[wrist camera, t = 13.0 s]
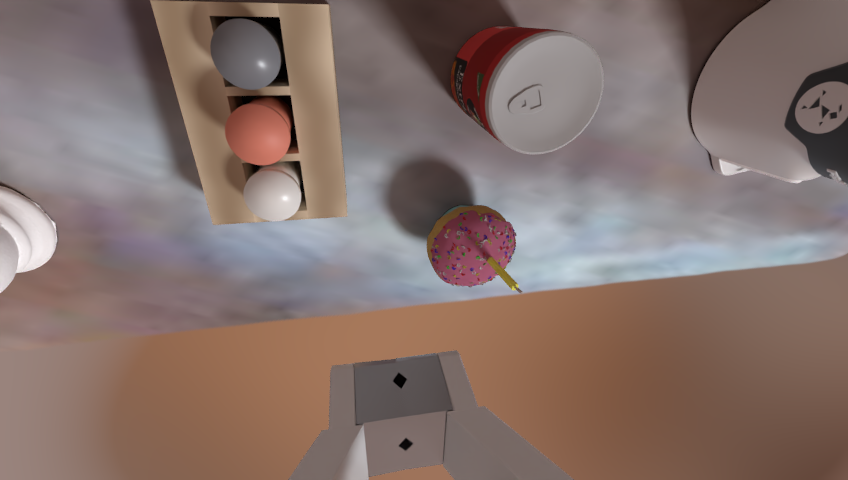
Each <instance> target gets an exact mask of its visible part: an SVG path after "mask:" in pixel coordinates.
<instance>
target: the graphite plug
mask: <svg viewBox="0 0 848 480" xmlns="http://www.w3.org/2000/svg"><path fill="white" fill-rule="evenodd" d="M210 50H211V56H212V60H213V62H214V65H215V66H216V68H217V70H218V71H219V73H220V74H221V75H222V76H223V77H224V78H225V79H226V80H227V81H229V82H230V83H232V84H233V85H235V86H237V87H240V88H243V89H248V90H255V89H261V88H263V87H265V86H267V85H269V84H270V83H271V82H272V81H273V80H274V79H275V78H276V76H277V75H278V73H279V70H280V67H281V66H282V64H283V62H284V59H285V52H284V45H283V40H282V38H281V37H280V35H279V34H278V33H277V32H276V31H275V30H274V29H273V28H272V27H270V26H269V25H267V24H264V23H260V22H255V21H252V20H248V19H231V20H228V21H225V22H224V23H222V24H221V25H220V26H218V28H217V29H216V30H215V32H214V33H213V36H212V39H211V45H210Z"/></svg>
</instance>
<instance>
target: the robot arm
mask: <svg viewBox="0 0 848 480" xmlns="http://www.w3.org/2000/svg"><path fill="white" fill-rule="evenodd" d="M691 119H692V126H693V130H694V133H695V135H696V137H697V139H698V141H699V142H700V143H701V144H702V145H703V146H704V147H705V148H706V149H707V150H708V152H709V153H710V155H711V160H712V165H713V168H714V170H715V172H716V173H718V174H722V175H726V176H727V175H732V174H736V173H740V172H744V171H748V170H752V171H755V172H759V173H762V174H765V175H768V176H771V177H774V178H778V179H781V180H784V181H787V182H792V183H799V182H801V181H802V180H810V179H814V178H817V177H819V176H824V177H827V178H830V179H833V180H835V181H837V182H838V183H841V184H844V185H847V186H848V0H771V1H769V2H768V3H767V4H766V5H764V6H763V7H762V8H760V9H759V10H757V11H756V12H754V13H753V14H751V15H750V16H748V17H747V18H745V19H744V20H743V21H742V22H740V23H739V24H738V25H737V26H736V27H735V28H734V29H733V30H732V31H731V32H730V33H729V34H728V35H727V36H726V37H725V38H724V39H723V40H722V41H721V43H720V44H719V45H718V46H717V48H716V49H715V50H714V52H713V53H712V55H711V56H710V58H709V60H708V61H707V63H706V65H705V67H704V69H703V71H702V73H701V75H700V77H699V80H698V82H697V85H696V88H695V92H694V96H693V101H692V108H691ZM329 408H330V409H329V429H328V430H323V431H321V433H320V434H319V436H318V437H317V439H316V440H315V441H314V443H313V444H312V446H311V447H310V449H309V450H308V452H307V453H306V455H305V456H304V457H303V459H302V460H301V462H300V463H299V465H298V466H297V468H296V469H295V471H294V472H293V474H292V475H291V477H290V478H289V479H288V480H369V478H368V477H371V476H376V475H381V474H385V473H390V472H395V471H400V470H405V469H412V468H419V467H426V466H433V465H440V464H443V466H444V467H445V469H446V470H447V471H448V472H449V473H450V475H451V476H452V477H453V478H454V479H455V480H574V479H572V478H571V477H570V476H569V475H568V474H567V473H565V472H564V471H563V470H562V469H561V468H559V467H558V466H557V465H556V464H554V463H553V462H552V461H551V460H549V459H548V458H547V457H546V456H544V455H543V454H542V453H541V452H540V451H538V450H537V449H536V448H535V447H534V446H532V445H531V444H530V443H529V442H528V441H526V440H525V439H524V438H523V437H521V436H520V435H519V434H518V433H516V432H515V431H514V430H513V429H512V428H510V427H509V426H508V425H507V424H506V423H504V422H503V421H502V420H501V419H499V418H498V417H497V416H496V415H495V414H493V413H492V412H491V411H489V410H488V409H487V408H486V407H485V406H482V407H478V405H477V402H476V399H475V396H474V394H473V391H472V388H471V385H470V382H469V379H468V377H467V374H466V371H465V368H464V365H463V363H462V360H461V357H460V354H459V353H458V352H457V351H449V352H441V353H437V354H436V353H433V354H426V355H418V356H411V357H404V358H396V359H391V360H381V361H371V362H362V363H354V364H344V365H335V366H332V368H331V373H330V406H329Z"/></svg>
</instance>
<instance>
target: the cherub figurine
mask: <svg viewBox="0 0 848 480" xmlns="http://www.w3.org/2000/svg"><path fill="white" fill-rule="evenodd" d="M55 225H56V224H55V223H54V222H53V221H52V220H51V219H50V217H48V215H47V214H45V213H44V211H43V210H41V207H40V206H39V205H38V204H36V203H35V202H33V201H31V200H30V199H28V198H26V197H25V196H23V195H21V194H19V193H18V192H16V191H14V190H12V189H8V187H3V186H0V293H1V292H2V291H3V290H4V289H5V288H6V287H7V286H8V285H9V284H10V283H11V281H12V280H13V278H14V276H15V273H19V272H26V271H30V270H33V269H35V268H38V267H40V266H41V265H43V264H44V263H46V262H47V261H48V260H49V259H50V258H51V257H52V255H53V253H54V251H55V248H56V243H57V242H56V241H57V235H56V226H55Z"/></svg>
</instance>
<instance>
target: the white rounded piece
mask: <svg viewBox="0 0 848 480" xmlns="http://www.w3.org/2000/svg"><path fill="white" fill-rule="evenodd" d="M301 181H302V170H301V165H300V163H299V162H298V161H282V162H275V163H273V164H270V165H261V166H260V168H259V169H258V171H257V172H256V173H254V174H253V175H252V176H251V177H250V178H249V179H248V181H247V183H246V185H245V187H244V192H243V195H244V200H245V203H246V205H247V207H248V208H249V209H250V211H251V212H252V213H254V214H255V215H256V216H258V217H260V218H262V219H265V220H268V221H282V220H285V219H288V218H290V217H291V216H293V215H294V214H295V213H296V211H297V210H298V208H299V206H300V202H301V190H300V185H301Z"/></svg>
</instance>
